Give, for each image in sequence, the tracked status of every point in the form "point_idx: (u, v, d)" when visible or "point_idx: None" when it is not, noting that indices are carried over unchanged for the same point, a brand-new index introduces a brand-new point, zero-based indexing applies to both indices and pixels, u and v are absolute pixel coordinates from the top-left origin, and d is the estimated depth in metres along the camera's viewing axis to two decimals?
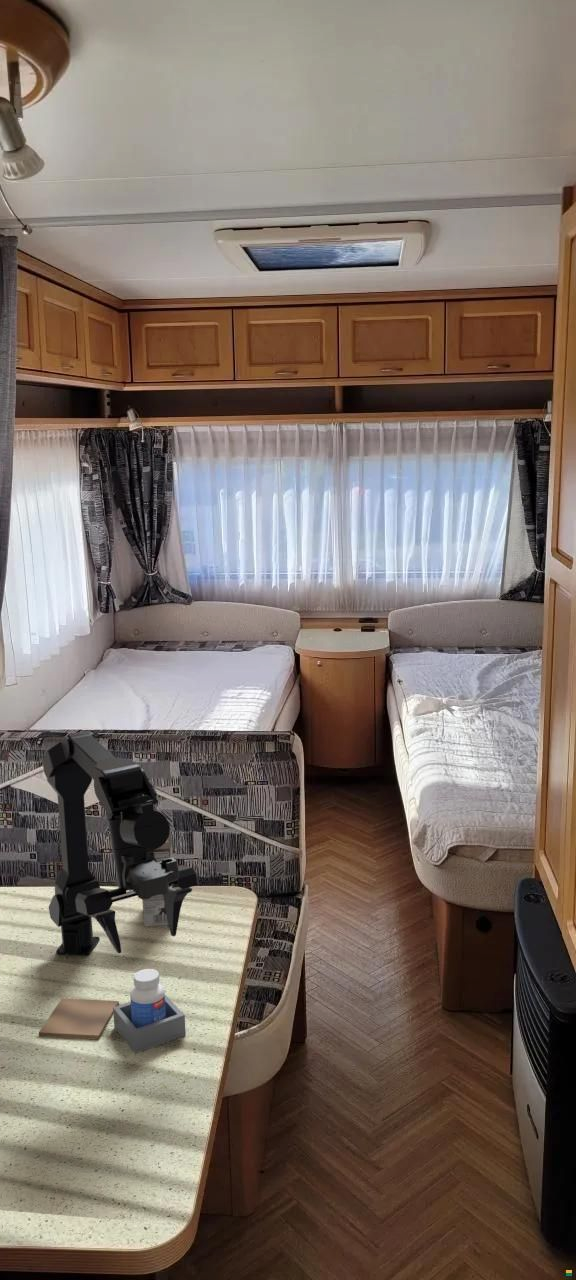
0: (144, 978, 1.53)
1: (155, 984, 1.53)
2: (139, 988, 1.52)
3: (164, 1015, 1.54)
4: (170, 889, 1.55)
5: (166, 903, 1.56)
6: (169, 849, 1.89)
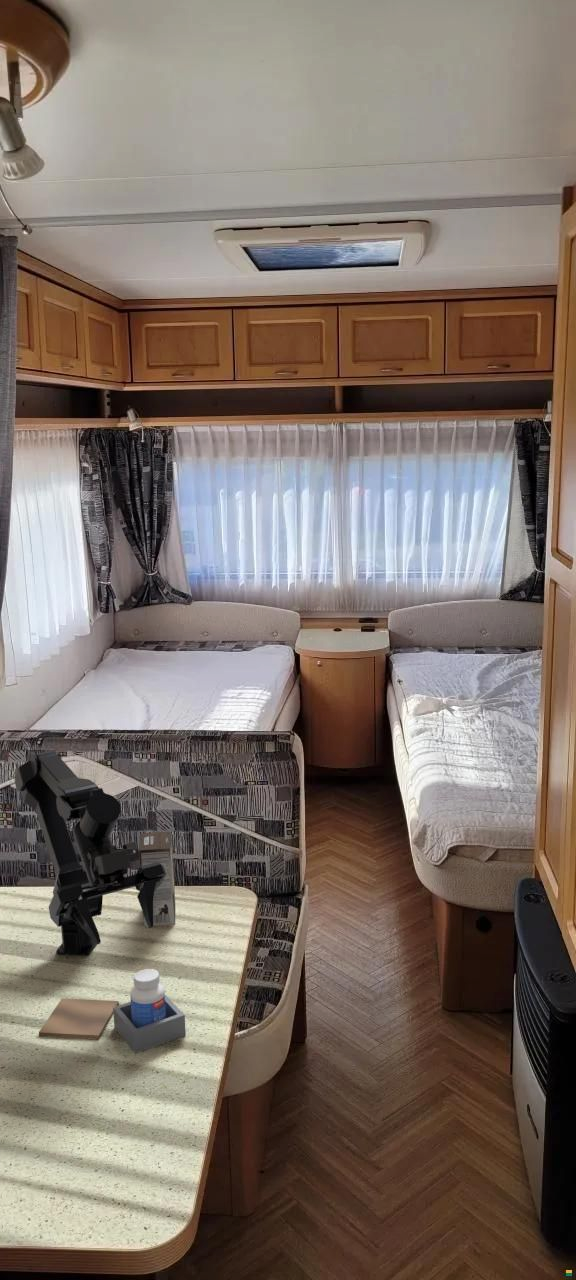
0: (144, 978, 1.53)
1: (155, 984, 1.53)
2: (139, 988, 1.52)
3: (164, 1015, 1.54)
4: (142, 888, 1.66)
5: (141, 903, 1.65)
6: (169, 849, 1.89)
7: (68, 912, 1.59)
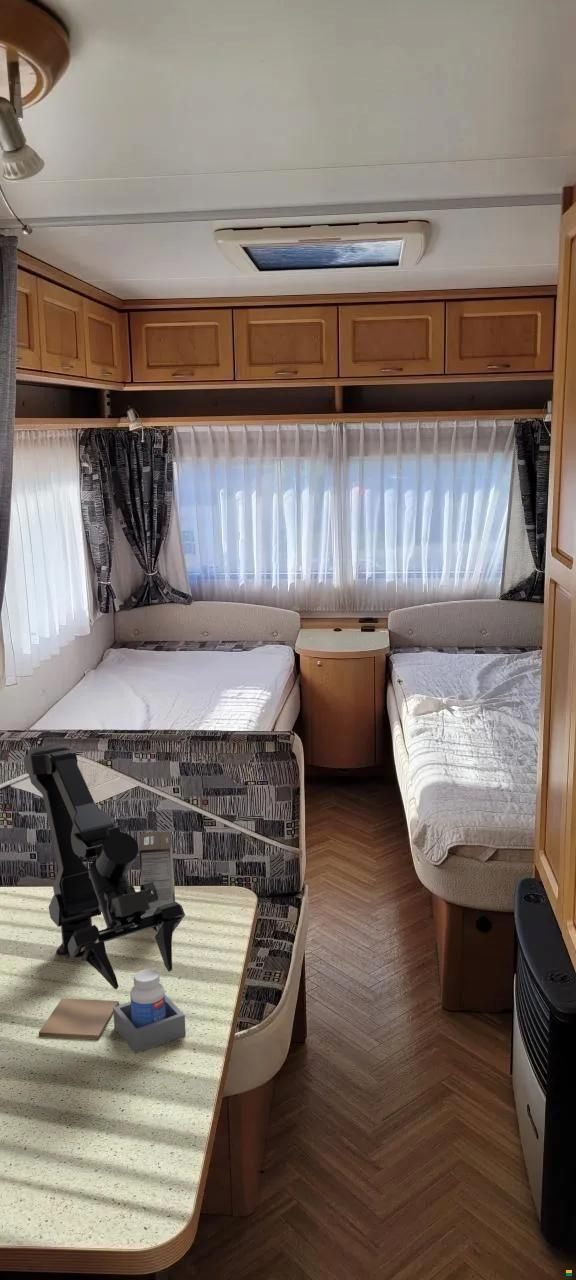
0: (144, 978, 1.53)
1: (155, 984, 1.53)
2: (139, 988, 1.52)
3: (164, 1015, 1.54)
4: (160, 929, 1.61)
5: (159, 944, 1.60)
6: (169, 849, 1.89)
7: (84, 956, 1.54)
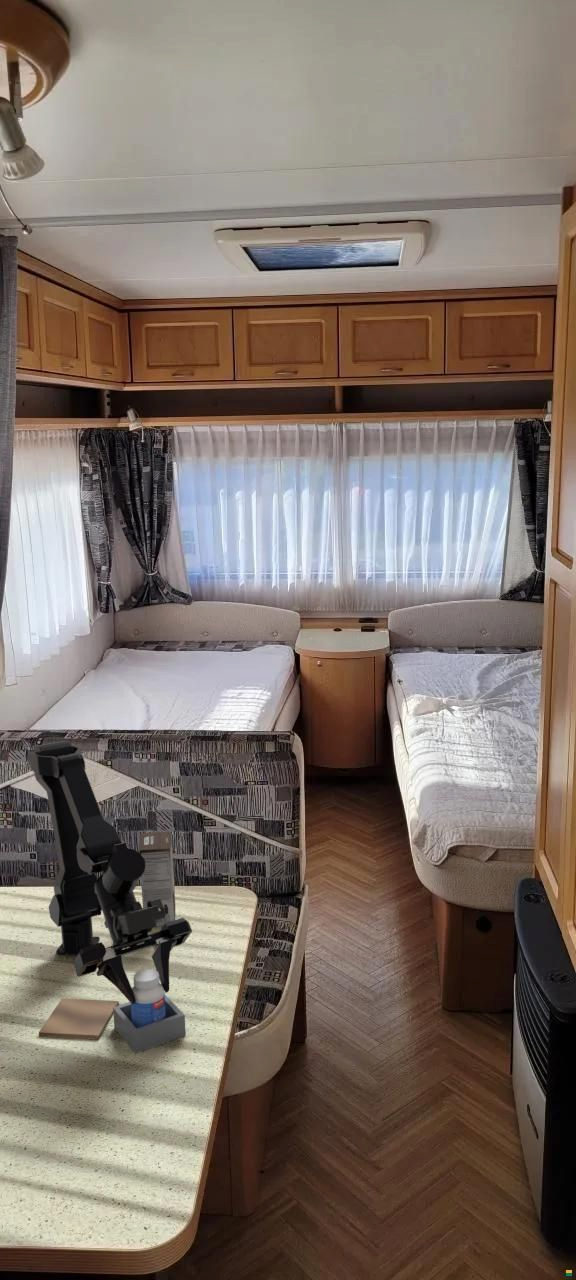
0: (144, 978, 1.53)
1: (155, 984, 1.53)
2: (139, 988, 1.52)
3: (164, 1015, 1.54)
4: (157, 948, 1.59)
5: (156, 964, 1.58)
6: (169, 849, 1.89)
7: (101, 970, 1.53)
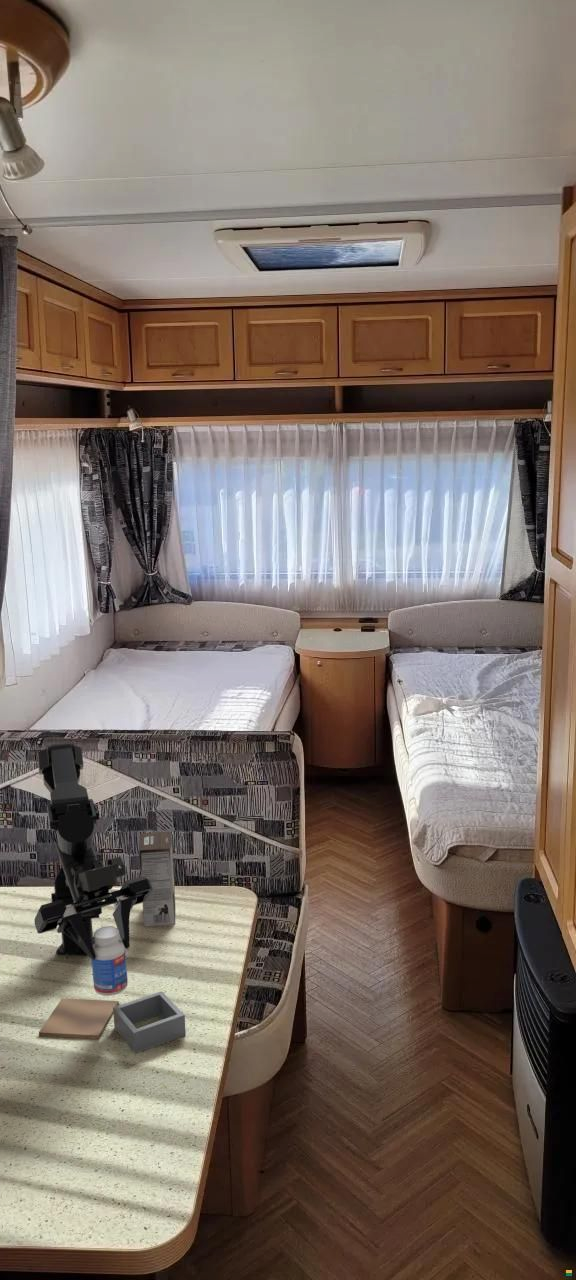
0: (104, 935, 1.54)
1: (115, 941, 1.54)
2: (99, 945, 1.54)
3: (125, 971, 1.56)
4: (117, 906, 1.60)
5: (117, 922, 1.59)
6: (169, 849, 1.89)
7: (62, 927, 1.54)
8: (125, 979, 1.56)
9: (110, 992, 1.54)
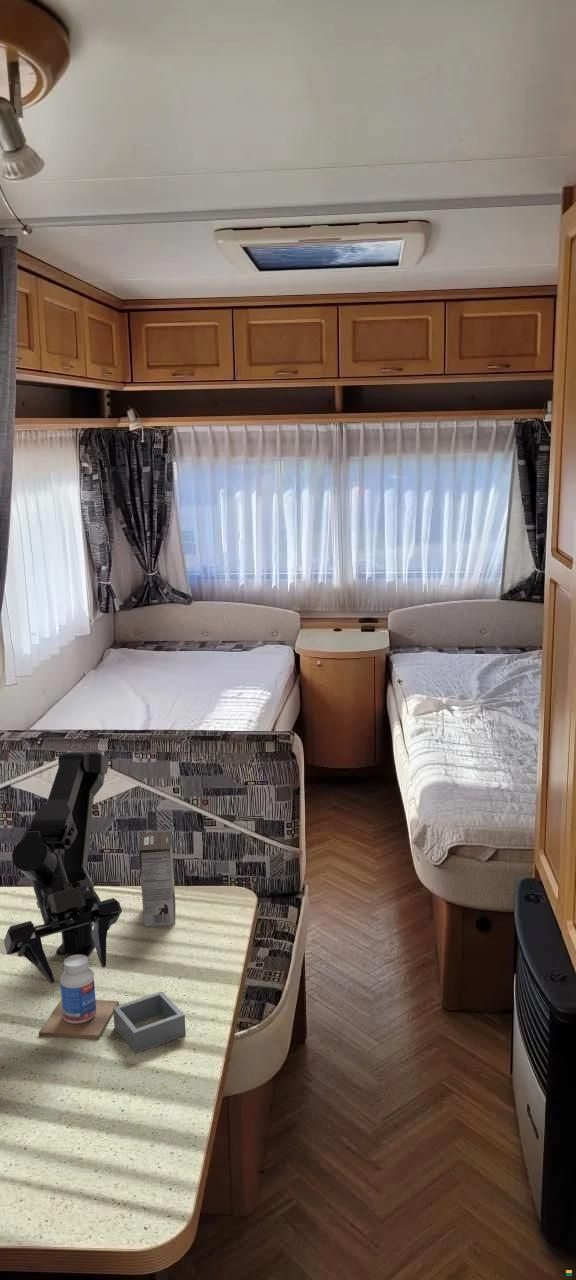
0: (73, 963, 1.57)
1: (84, 969, 1.57)
2: (68, 973, 1.57)
3: (93, 999, 1.58)
4: (95, 925, 1.63)
5: (95, 941, 1.62)
6: (169, 849, 1.89)
7: (21, 951, 1.56)
8: (93, 1007, 1.58)
9: (78, 1020, 1.57)
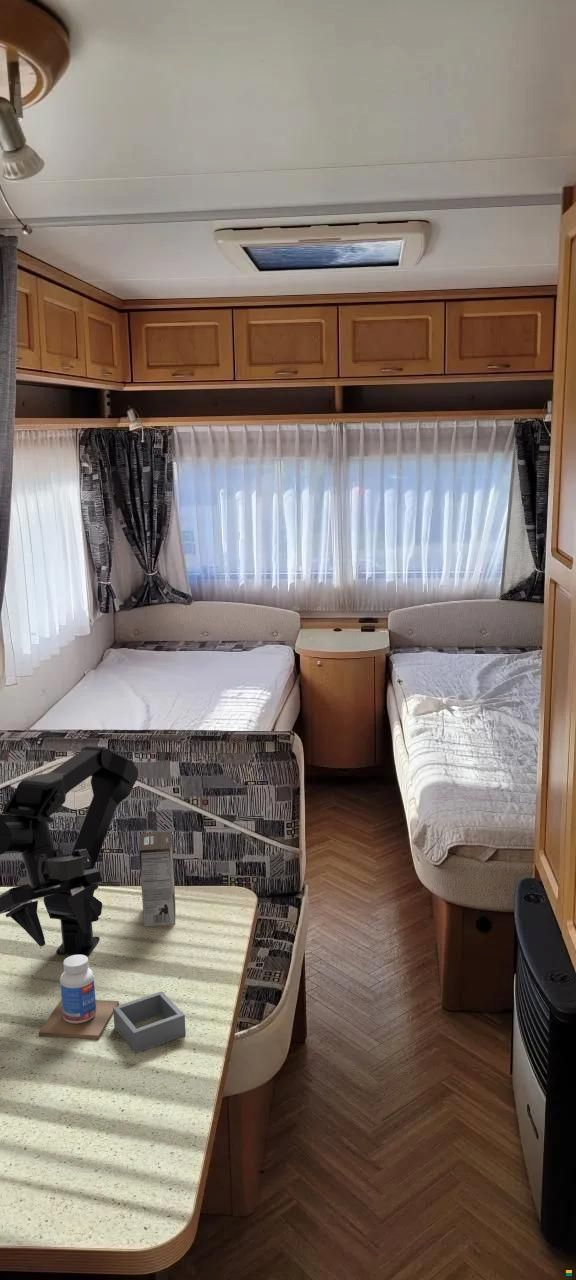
0: (73, 963, 1.57)
1: (84, 969, 1.57)
2: (68, 973, 1.57)
3: (93, 999, 1.58)
4: (77, 892, 1.71)
5: (75, 906, 1.70)
6: (169, 849, 1.89)
7: (14, 912, 1.60)
8: (93, 1007, 1.58)
9: (78, 1020, 1.57)
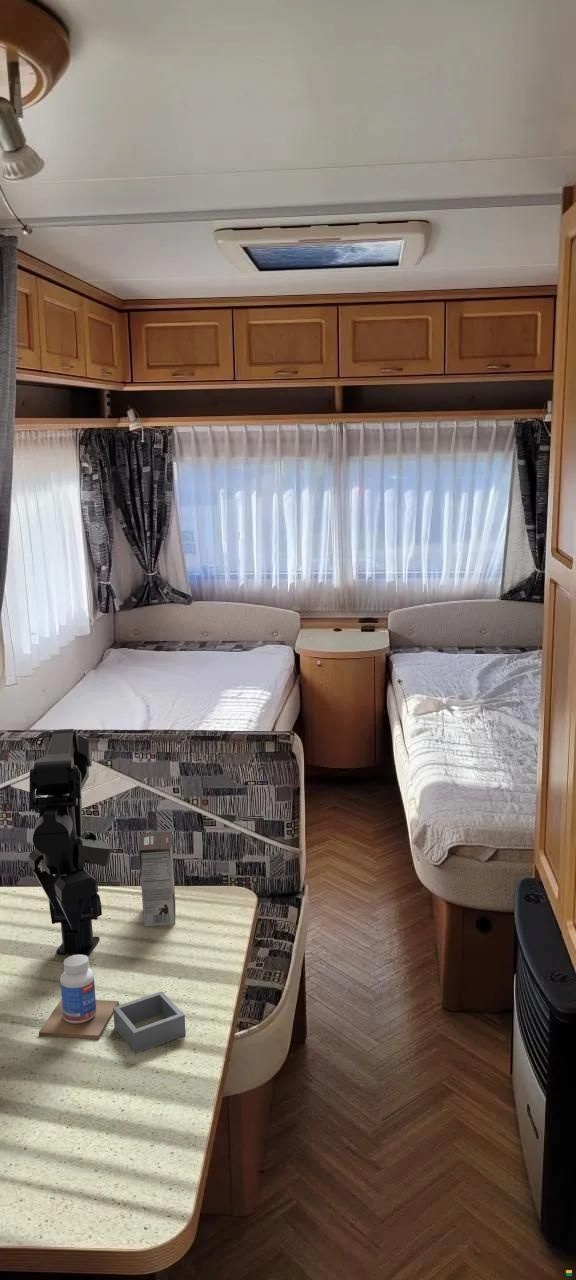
0: (73, 963, 1.57)
1: (84, 969, 1.57)
2: (68, 973, 1.57)
3: (93, 999, 1.59)
4: None
5: (47, 883, 1.70)
6: (169, 849, 1.89)
7: (77, 899, 1.59)
8: (93, 1007, 1.58)
9: (78, 1020, 1.57)
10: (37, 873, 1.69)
